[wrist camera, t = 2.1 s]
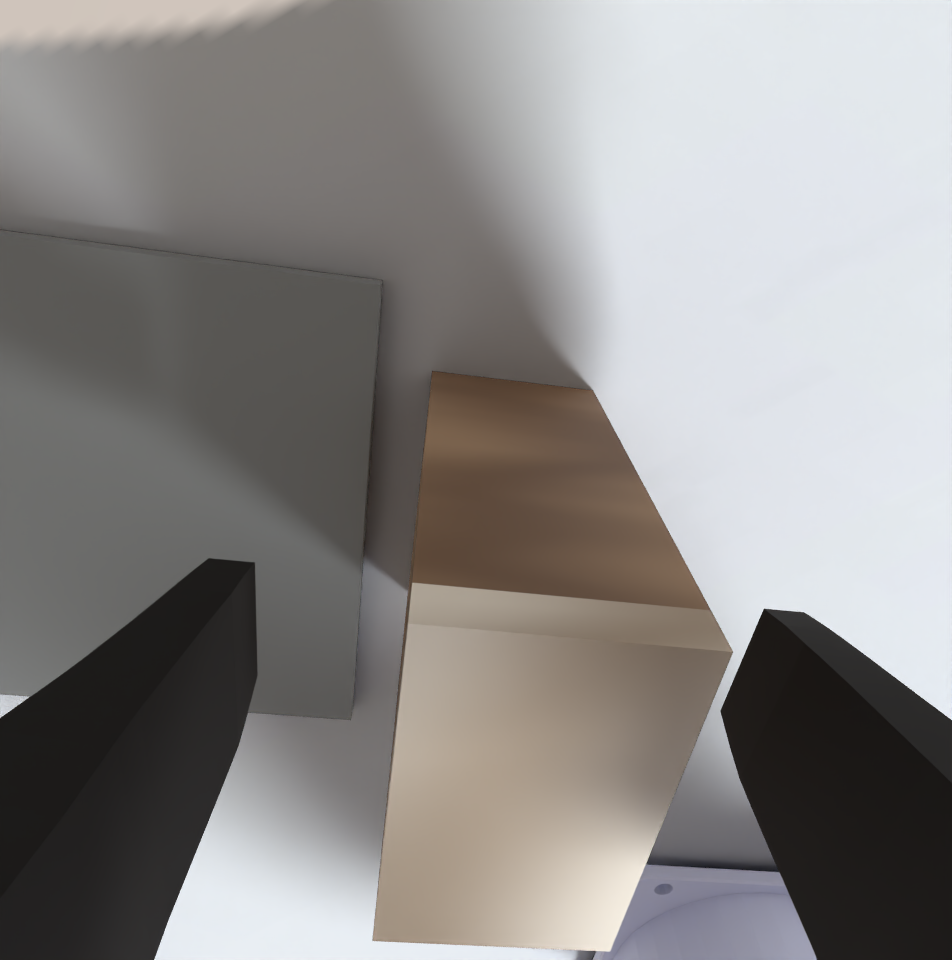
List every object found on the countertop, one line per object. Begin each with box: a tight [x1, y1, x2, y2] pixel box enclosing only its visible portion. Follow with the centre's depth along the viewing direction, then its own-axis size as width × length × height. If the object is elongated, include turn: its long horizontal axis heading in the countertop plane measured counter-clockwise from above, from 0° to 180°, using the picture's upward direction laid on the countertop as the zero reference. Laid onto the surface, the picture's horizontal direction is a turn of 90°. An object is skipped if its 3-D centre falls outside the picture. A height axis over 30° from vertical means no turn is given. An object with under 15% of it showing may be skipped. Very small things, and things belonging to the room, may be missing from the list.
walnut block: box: [373, 371, 733, 952], centre depth 10 cm, size 3×5×7 cm, turn 172°
